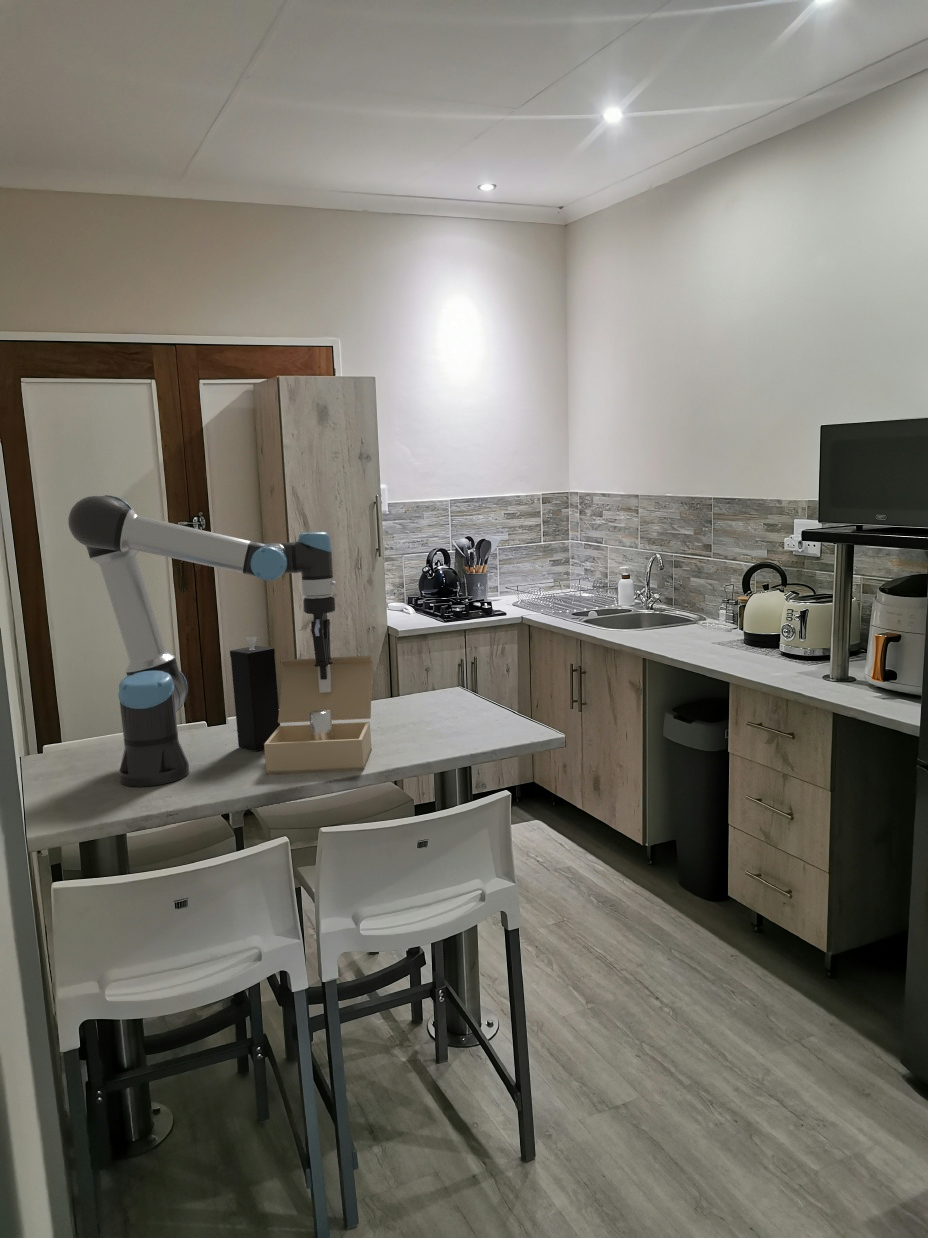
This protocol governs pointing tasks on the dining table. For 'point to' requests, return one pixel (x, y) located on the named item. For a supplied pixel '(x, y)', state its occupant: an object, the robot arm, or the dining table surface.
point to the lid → (343, 701)
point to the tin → (321, 725)
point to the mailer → (318, 749)
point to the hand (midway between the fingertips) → (325, 691)
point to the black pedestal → (255, 694)
